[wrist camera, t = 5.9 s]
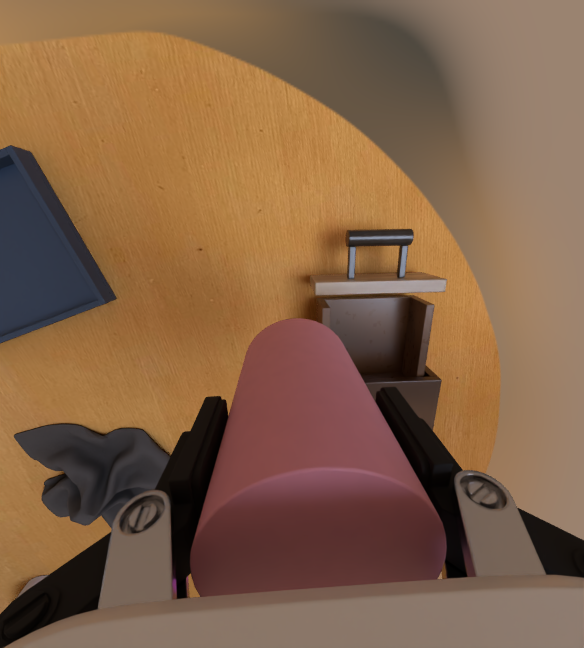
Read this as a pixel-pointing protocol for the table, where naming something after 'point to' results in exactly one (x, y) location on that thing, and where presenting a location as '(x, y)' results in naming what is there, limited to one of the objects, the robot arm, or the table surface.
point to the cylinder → (310, 479)
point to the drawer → (379, 310)
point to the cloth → (93, 468)
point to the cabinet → (413, 392)
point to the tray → (40, 253)
